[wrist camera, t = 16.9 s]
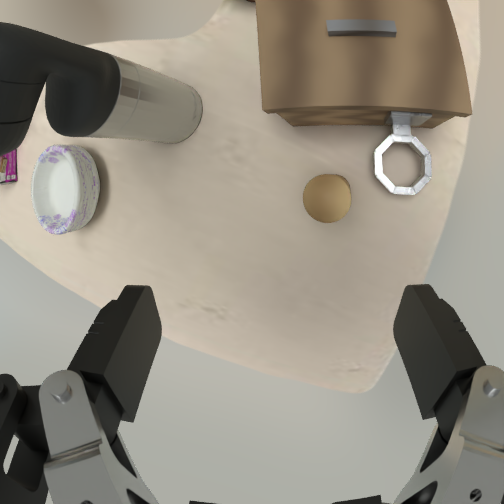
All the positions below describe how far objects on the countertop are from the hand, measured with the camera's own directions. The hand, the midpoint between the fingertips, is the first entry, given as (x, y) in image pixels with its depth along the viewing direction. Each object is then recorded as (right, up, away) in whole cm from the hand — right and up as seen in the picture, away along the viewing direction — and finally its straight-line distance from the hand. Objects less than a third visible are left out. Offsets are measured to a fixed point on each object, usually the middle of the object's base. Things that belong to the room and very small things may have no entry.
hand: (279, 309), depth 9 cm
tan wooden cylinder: (+10, +10, +27) cm, 31 cm away
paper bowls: (-31, +14, +40) cm, 53 cm away
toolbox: (+13, +24, +23) cm, 35 cm away
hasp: (+16, +13, +22) cm, 30 cm away
